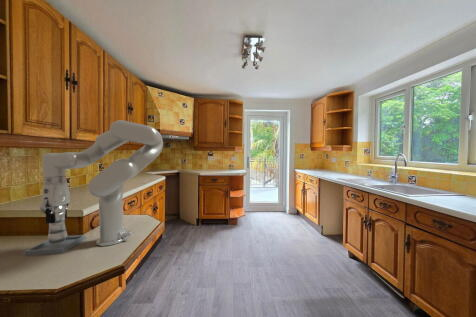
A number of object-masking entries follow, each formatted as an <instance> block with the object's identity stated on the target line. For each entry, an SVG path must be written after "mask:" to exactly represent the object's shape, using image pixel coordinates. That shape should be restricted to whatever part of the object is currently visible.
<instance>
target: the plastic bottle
mask: <svg viewBox="0 0 476 317" xmlns="http://www.w3.org/2000/svg"><path fill="white" fill-rule="evenodd" d="M50 207H51V206H50ZM49 210H51V208H49ZM65 211H66V208H65V206H64V205H61V206H58V207H55V208H54V212H53V214H54V213H55V223H48V235H47V240H48V241H49V243H50V244H56V243H60V242H63V241H65V240H66V239H67V237H68V231H67V228H66V221H65V220H66V218H65Z"/></svg>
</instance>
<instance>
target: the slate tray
mask: <svg viewBox="0 0 476 317" xmlns="http://www.w3.org/2000/svg"><path fill="white" fill-rule="evenodd" d="M86 237H87V236H86V235H72V236H71V235H69V236H68V235H67V239H66V240H65V241H63V242H60V243H56V244H50V243H49V241H48V239H47V240H45V241H43V242H41V243H39V244H37V245H35V246H32V247H31V248H29V249H26V250H24V252H23V254H24V256H25V257H26V256H39V255H42V256H43V255H51V254H53V255H55V254H63V253H65V252H67V251H68V250H70V249H72V248H73V247H75V246H77V245H78V244H80V243H82V242H83V241H85V240H86V239H87V238H86Z"/></svg>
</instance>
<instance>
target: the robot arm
mask: <svg viewBox="0 0 476 317" xmlns="http://www.w3.org/2000/svg"><path fill="white" fill-rule="evenodd" d="M128 142H132V143H137V144H143V146H142V147H140V148H139V149H137V150H136V151H135V152H134V153H133V154H130V156H128V157H126V158H119V159H117V160H115V161H114V162H112V163H111V164H109V165H108V166H107V167H105V168H104V169H103V170H102V171H100V172H99V173H98V174H97V175H95V176H94V177H93V178H92V179H91V180H90V181H89V183H88V191H89V193H90V194H91V196H93V197H95V198H99V199H98V218H99V238H98V239H97V240H96V241H95V243H96V245H97V246H98V247H99V246H100V247H106V246H113V245H117V244H120V243H122V242H124V241H126V240H127V239H128V237H132V236H133V232H132V230H127V228H126V227H124V207H123V206H124V205H123V203H124V202H123V195H124V184H125V183H126V182H128V180H130V179H133V178H135V177H136V176H137V175H139V173H140V172H142V171H143V170H144V169H146V168H147V167H148V166H149V165H150V164H151V163H153V162H154V161H155V160H156V159H157V158H158V157H159V155H160V154H161V153H162V151H163V149H164V148H163V147H164V140H163V136H162V135H161V133H160V131H158V130H157V129H156V128H154V127H153V126H151V125H145V124H142V123H136V122H132V121H127V120H122V119H119V120H118V119H117V120H116V121H113V122H112V123H111V124H110V127H109V130H106V131H105V132H102V133H101V134H99V135H97V136H96V137H95V142H94V143H93V144H92V145H91V146H89V147H88V148H85V149H84V150H82V151H80V152H78V151H77V152H76V151H67V152H66V151H65V152H49V153H44V154H42V159H41V160H42V176H43V178H42V179H43V180H42V181H43V186H42V190H41V192H42V193H41V194H42V195H41V202H42V203H41V205H40V206H39V210H40V211H42V212H43V213H44V215H45V223H46V224H49V223H55V213H54V214H53V212H54V208H55V207H58V206H61V205H64V206H65V208H66V211H65V219H67V218H68V212H67V211H68V206H69V205H70V202H71V195H70V187H69V184H68V182H67V170H71V169H83V168H86V167H89V166H90V165H92V164H94V163H96V162H98V161H100V160H101V159H102V158H104V157H105V156H107V155H108V154H109V153H110V152H112V151H114V150H115V149H117V148H119V147H121V146H122V145H125V144H126V143H128ZM66 169H67V170H66ZM50 206H51V207H50ZM49 208H51V210H49Z"/></svg>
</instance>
